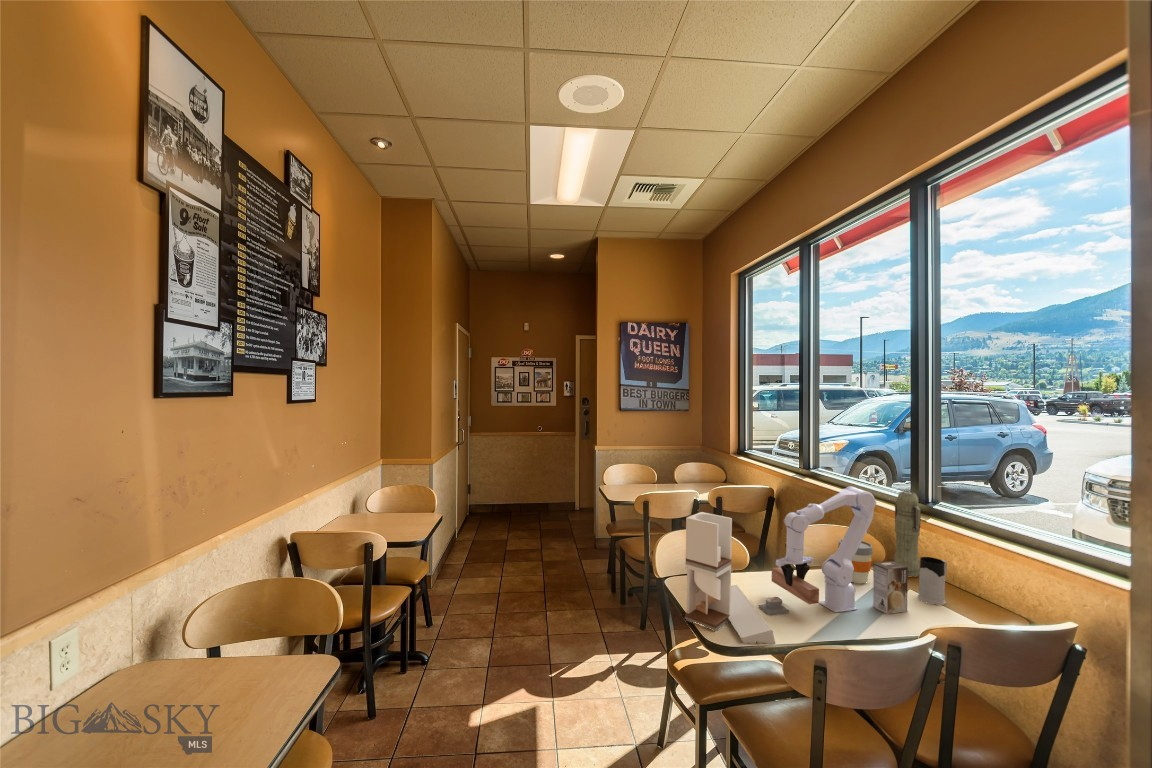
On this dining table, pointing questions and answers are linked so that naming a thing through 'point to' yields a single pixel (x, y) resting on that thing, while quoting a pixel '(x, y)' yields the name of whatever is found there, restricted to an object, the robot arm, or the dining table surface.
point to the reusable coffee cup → (861, 562)
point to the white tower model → (708, 569)
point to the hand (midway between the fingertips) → (794, 584)
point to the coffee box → (890, 587)
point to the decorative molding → (748, 620)
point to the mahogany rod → (796, 587)
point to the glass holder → (932, 580)
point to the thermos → (907, 531)
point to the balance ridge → (773, 606)
